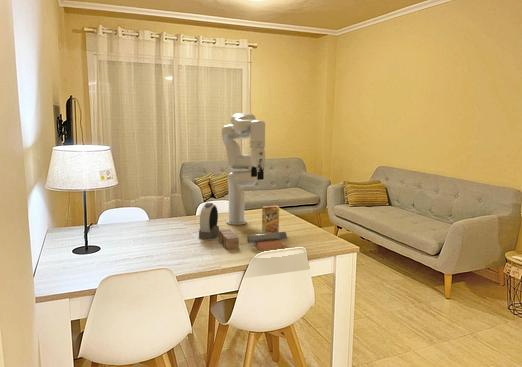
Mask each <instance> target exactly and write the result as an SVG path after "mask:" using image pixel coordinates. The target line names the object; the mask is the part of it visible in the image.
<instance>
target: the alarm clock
mask: <svg viewBox="0 0 522 367" xmlns="http://www.w3.org/2000/svg"><path fill="white" fill-rule="evenodd" d="M218 220H219V212H218V207H217V205H216V204H214V203H213V202H205V204H204V205H203V206H202V208H201V210H200V216H199V230H198V239H199V240H200V239H201V240H210V241H211V240H215V239H216V238H219V230H220V227H219V225H218V222H219V221H218Z"/></svg>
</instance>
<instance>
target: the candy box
mask: <svg viewBox="0 0 522 367" xmlns="http://www.w3.org/2000/svg"><path fill="white" fill-rule="evenodd" d="M261 210H262V211H261V212H262V214H261V216H262V218H261V233H262V234H265V233H275V232H280V231H279V230H280V206H279V205H277V204H275V205H262V208H261Z"/></svg>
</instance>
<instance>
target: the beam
mask: <svg viewBox="0 0 522 367" xmlns="http://www.w3.org/2000/svg"><path fill="white" fill-rule="evenodd" d="M239 238H240V237H239V236H237V234H235V233H234V232H233V231H232V230H231V229H230V228H224V229H223V228H222V229H219V236H218V241H219V242H220V243H221V244H223V247H224V248H225V249H226V250H237V249H239V245H240V244H239V242H240V240H239Z"/></svg>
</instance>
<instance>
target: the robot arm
mask: <svg viewBox="0 0 522 367" xmlns="http://www.w3.org/2000/svg"><path fill="white" fill-rule="evenodd" d="M256 118H257V117H256V116H255V115H254V114H253V113H248V112H247V113H243V112H240V113H239V112H238V113H235V114H233V115H232V116H231V117H230V124H227V125H224V126H222V128H221V138H222V141H223V145H224V146H225V151H226V160H227V165H228V169H230V170H233V171H231V172H229V173H228V174H227V177H226V180H227V186H228V188H227V189H228V218H227V219H226V221H225V223H226V224H228V225H231V226H240V225H245V224H247V222H248V220H247V219H245V193H244V191H243V189H241V188H246V187H248V188H249V187H254V186H255V185H256V183H257V180H258V181H259V180H260V181H261V180H264V177H265V176H264V175H265V167H266V151H265V149H266V122H265V121H264V120H260V119H256ZM235 139H237V140H238V139H241V140H243V139H249V141H250V143H249V145H250V146H249V148H250V149H251V150H250V154H249V153H241V148H240V144H239V143H238V142H237V141H236V140H235ZM242 170H243V171H242Z"/></svg>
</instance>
